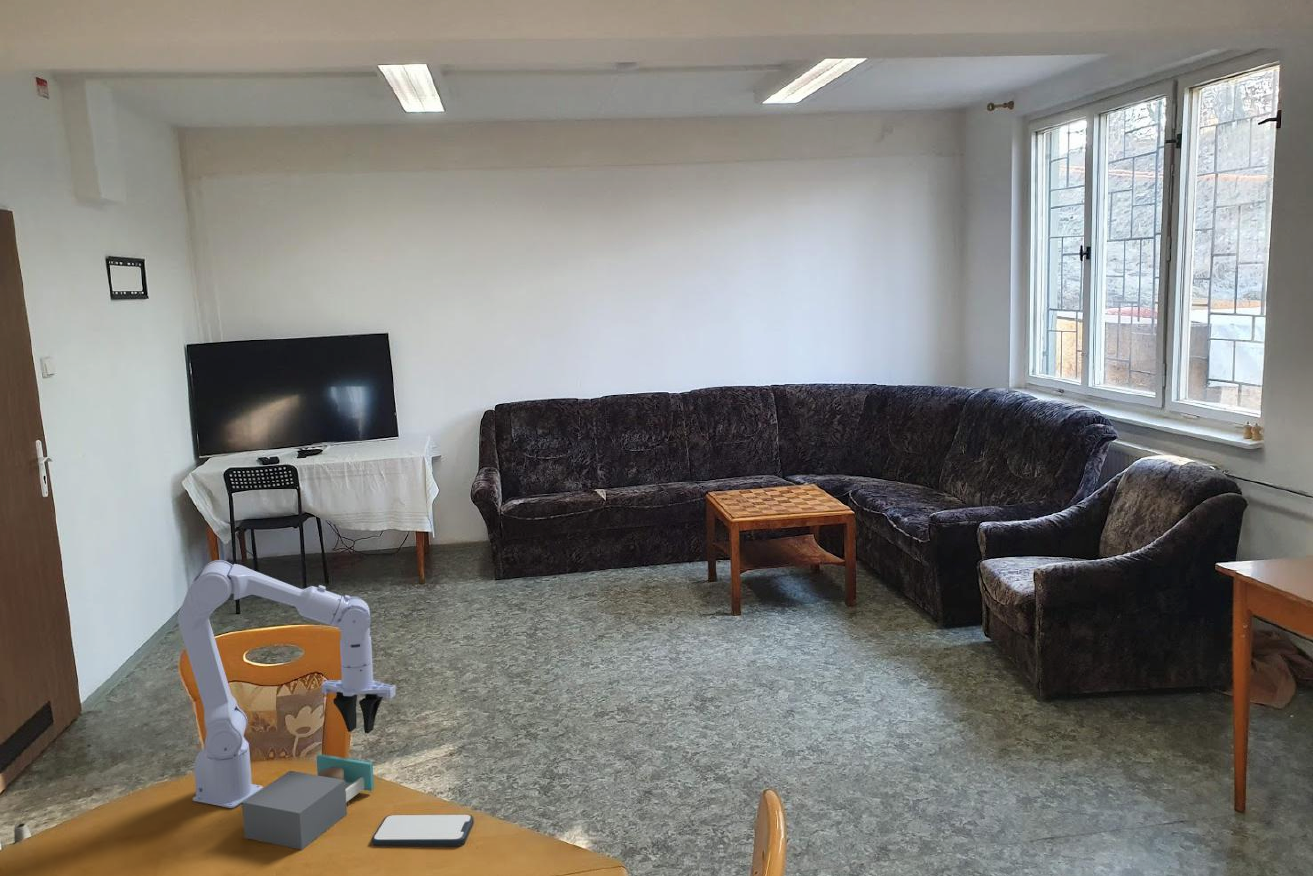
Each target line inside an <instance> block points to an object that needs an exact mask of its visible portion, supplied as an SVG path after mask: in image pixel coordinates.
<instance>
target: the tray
mask: <svg viewBox="0 0 1313 876" xmlns="http://www.w3.org/2000/svg"><path fill="white" fill-rule="evenodd" d="M331 767H339V768H342V769H343V772H344V780H345V788H346V803H347V802H349V801H350V800H351V799H353V798H354V797H355V796H357V795H358V794H359V793H361V792H362V791H363V790H364V791H368V792H369V791H370V792H372V791H374V790H375V783H374V779H375V778H374V766H373V762H371V761H364V760H358V759H354V758H353V759H352V758H346V757H341V756H334V755H328V754H324V753H323V754H322V753H319V754H317V755H316V769H317V770H316V771H317V774H318V773H319V772H320V771H322V770H324V769H327V768H331Z"/></svg>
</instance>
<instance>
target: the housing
mask: <svg viewBox="0 0 1313 876" xmlns="http://www.w3.org/2000/svg"><path fill="white" fill-rule="evenodd" d="M241 808H242V823H243V835H244V839H249V840H254V841H259V842H263V843H268V844H272V845H278V846H283V847H287V848H288V847H289V848H293V849H298V850H301V851H303V849H304V848H306V847H308V846H309V845H310V844H311V843H313V842H314V841H315V840H316V839H318V838H319V837H320V836H321V835H323V834H324V833H326V832H327V831H328V830H329V829H330V828H332V827H333V826H334V825H335V824H337V823H338V822H339V821H341V820H342V819H343V818H344V817H345V816H347V815H348V809H347V802H346V788H345V780H341V779H335V778H329V777H324V776H318V774H312V773H306V772H300V771H294V770H289V771H287V772H286V773H284V774H283V775H281V776H279V777H277V779H274V780H273V781H272V782H271V783H269V784H267V785H266V786H264V787H263V789H261V790H260V791H258V792H257V793H255V794H254V795H252V796H251V797H249V798H248V799H246V800H244V801H243V802H242V803H241Z"/></svg>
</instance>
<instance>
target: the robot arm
mask: <svg viewBox="0 0 1313 876" xmlns="http://www.w3.org/2000/svg"><path fill="white" fill-rule="evenodd" d="M232 594H233V601H236V600H239V599H242V598H245V597H247V596H248V597H249V596H252V595H253V596H257V597H261V598H264V599H268V600H271V601H275V602H278V603H281V604H285V605H289V606H291V607H295V608H296V611H297V613H298V614H299V615H300V616H302V617H305V618H308V619H311V620H314V621H316V622H320V623H321V624H322V623H323V624H325V625H328V626H332V627H335V626H336V627H338V630H339V631H340V640H339V650H340V665H341V667H340V669H341V679H339V680H338V679H337V680H332V679H330V680H328V679H326V680H325V681H324V682H322V683H321V694H325V695H327V694H328V693H331V694H333V693H334V694H336V696H335V697H334V698H333V704H334V705H335V707H336V708H337V710H338V711H339V712H340V715H341V716H342V718H343V720H344V724H345V726H346V729H347V732H349V733H351V732H352V731H354V730H355V729H356V728H357V725H358V724H357V722H358V721H357V720H358V718H357V700H358V696H364V697H363V698H362V699H360V701H359V702H358V704H359V706H360V710H361V714H362V719H363V730H364V734H370V733H371V732H372V731H373V730H374V728H375V722H376V721H375V720H376V716H377V713H378V710H379V707H380V705H381V702H382V700H383V699H384V698H385V699H387V700H391V699H392V698H394V697H395V696H396V685H391V684H387V683H383V682H380V681H376V680H374V669H373V668H374V667H373V651H372V650H373V648H372V647H373V646H372V638H371V628H370V626H371V622H372V620H371V612H370V611H371V610H370V607H369V604H368V603H367V602H366V601H364V599H362V598H360V597H358V596H350V595H347V594H345V595H340V594H337V593H335V592H331V591H329V590H327V589H326V586H324V585H322V584H321V585H320V584H319V585H318V587H317V586H313V585H310V586H308V587H306V588H299V587H296V586H294V585H292V584H289V583H287V582H284V581H281V580H279V579H277V578H273V577H271V576H269V575H266V574H264V573H261V572H258V571H255V570H254V569H252V568H251V569H250V568H248V567H247V566H244V565H242V564H236V563H234V564H232V563H230V562H228V561H226V560H223V559H215V560H212V561H210V562H208V563H207V564H206V565H204V567H203V568H202V569H201V570H200V571H199V572H198V573H197V575H196V576H195V578H194V579H193V581H192V583H191V584H190V585H189V587H188V589H187V591H186V593H185V597H184V599H183V602H182V605H181V607H180V610H179V612H178V615H177V623H178V627H179V631H180V633H181V636H182V640H183V643H184V646H185V651H186V652H187V657H188V659H189V660H188V661H189V663H190V666H191V669H192V673H193V676H194V679H195V682H196V686H197V689H198V694H199V695H200V700H201V703H202V706H203V712H204V715H203V716H204V718H203V719H204V726H205V731H206V736H205V740H204V748H203V749H201V750H200V751H199V753H198V754H197V756H196V757H195V760H194V764H193V774H194V786H195V796H193V797H192V801H193V802H197V803H198V802H199V803H203V804H206V805H207V804H208V805H213V806H218V807H221V808H222V807H223V808H228V809H234V808H236V807H237V806H239V805H240V804H242V802H243V801H244V800H246V799H248V798H249V797H251V796H252V795H254V794H255V793H257V792H258V791H260V790H261V789H263V788H264V787H263V786H262V785H259V784H254V783H253V782H252V781H253V780H252V769H251V755H250V743H249V742H248V741H247V740H246V738H245V736H244V735H245V731H246V729H247V727H248V724H249V723H248V717H247V714H246V713H245V711H243V710H242V709H241V708H240V707H239V706H238V705H239V704H238V702H237V699H236V698H235V697H234V696H233V694H232V692H231V688H230V685H229V682H228V678H227V676H226V675H227V674H226V672H225V669H224V668H225V667H224V665H223V662H222V658H221V656H220V655H221V654H220V651H219V649H218V645H217V641H216V637H215V635H214V631H213V629H212V625H211V621H210V617H211V615H212V614H213V613H214V611H215V610H216V609H217V608H219V607H220V606H222V605H223V604H225V602H227V601H228V599H229V598H230V596H231V595H232Z"/></svg>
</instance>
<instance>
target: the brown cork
mask: <svg viewBox="0 0 1313 876" xmlns="http://www.w3.org/2000/svg"><path fill="white" fill-rule="evenodd" d="M317 775H318V776H324V777H329V778H335V779H341V780H344V772H343V769H342V768H339V767H331V768H327V769H324V770H322V771H320V772H319V773H318V772H317Z"/></svg>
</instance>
